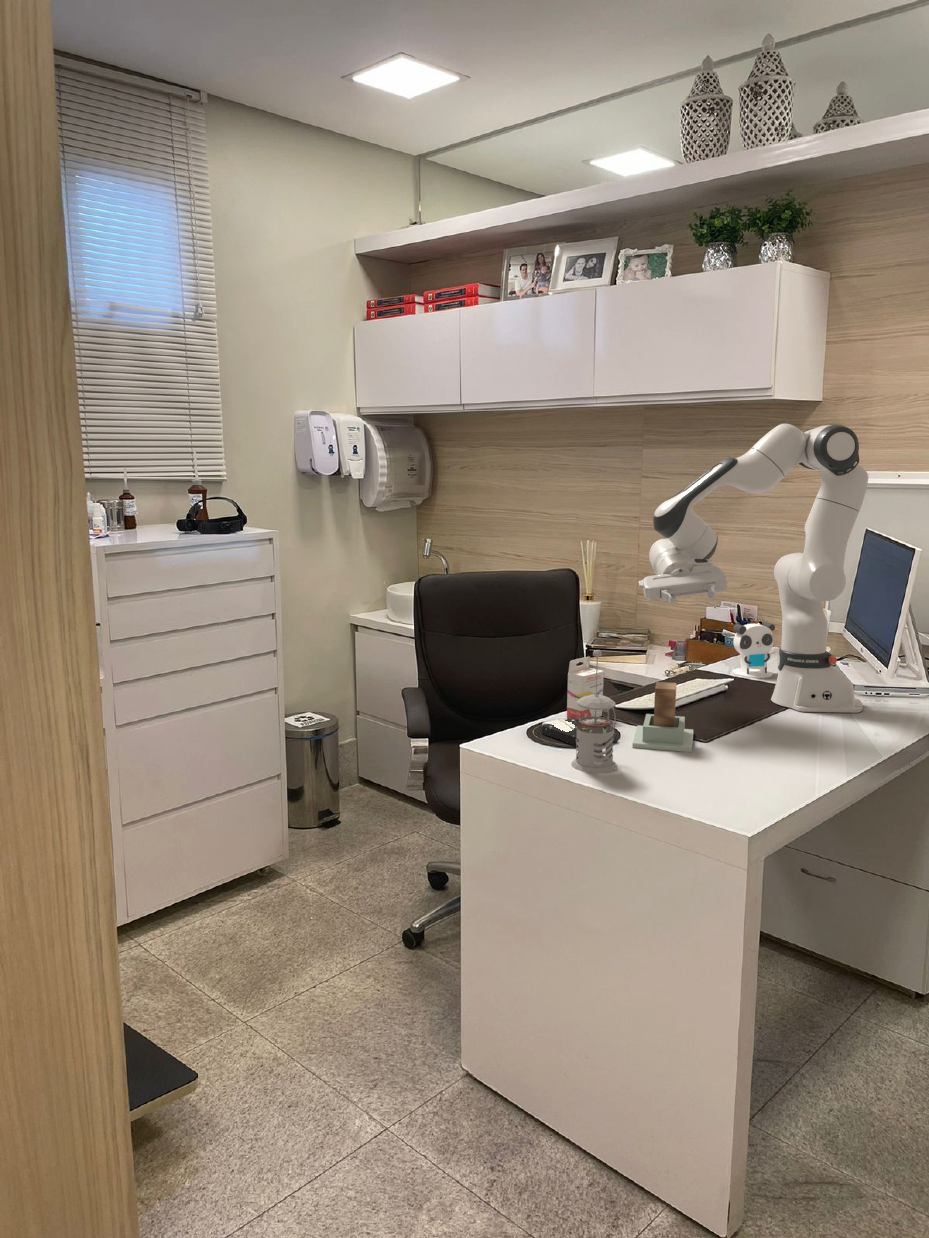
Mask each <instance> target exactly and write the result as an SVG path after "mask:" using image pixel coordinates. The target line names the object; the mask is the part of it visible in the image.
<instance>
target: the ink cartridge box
mask: <svg viewBox="0 0 929 1238" xmlns="http://www.w3.org/2000/svg"><path fill="white" fill-rule="evenodd" d="M579 663H582V664H581V665H579ZM590 663H591V656H584V657H581V658H576V659H572V660H570V661H569V666H568V673H567V694H566V695H567V696H566V697H567V699H566V702H567V703H566V704H567V705H566V718H567V719H571V718H574V719H578V720H579V719H580V718H582V717H588V716H589V717H590V716H595V710H591V709H585V708H582V707H580V706H579V705H578V704H577V701H578V700H579V699H580V698H582V697H585V696H588V695H593V694H596V668H591V667H590ZM604 672H605V671H604V670H602V669H597V694H598V695H603V696H604V675H605V673H604ZM602 715H603V711H602V710H596V716H598V717H602Z"/></svg>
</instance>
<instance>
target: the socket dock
mask: <svg viewBox="0 0 929 1238" xmlns="http://www.w3.org/2000/svg"><path fill="white" fill-rule="evenodd" d="M685 722H686V717H685V716H681V715H680V716H679V715H675V727H662V726H654V713H653V714H652V713H646V714H645V717H644V722H643V725H636V726H637V727H636V729H635V732H634V733H635V734H634V737H633V740H632V746H631V747H632V748H636V749H646V750H647V749H648V750H659V751H673V752H682V753H683V752H684V753H693V741H694V740H693V739H694V729H692V728H691V729H690V728H685V725H686V723H685Z"/></svg>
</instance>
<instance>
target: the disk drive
mask: <svg viewBox="0 0 929 1238" xmlns="http://www.w3.org/2000/svg"><path fill="white" fill-rule="evenodd" d="M564 720H565V721H568V722H572V724H574V725H575V728H574V730H572V731H569V732H565V731H563V730H562V731H561V730H560V729H558V728H556V727H554V725H552V723H546V724H542V725H541V735H543V734H544V736H546V735H547V736H546V737H549V736H552V737H555V738H556V739H555V740H557V739H560V740H563V741H566V742H568V743H570V744H569V745H571V746H574V747H576V745H577V743H576V741H577V742H578V740H579V739H578V740H577V726H578V725H580V723H579V720H578V719H574V718H571V719H569V718H567V719H564ZM605 730H606V728H605V727H603V733H605ZM580 731H588V732H591V733H592V730H591V729H588V728H582V729H581V730H580ZM552 737H551V738H552ZM613 737H614V738H613V743H617V741H618V739H617V738H618V735H617V734H616V732H614V734H613ZM560 740H559V741H560ZM563 741H562V742H563ZM568 743H567V744H568ZM604 745H606V742H605V743H603V746H604ZM577 747H578V745H577Z"/></svg>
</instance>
